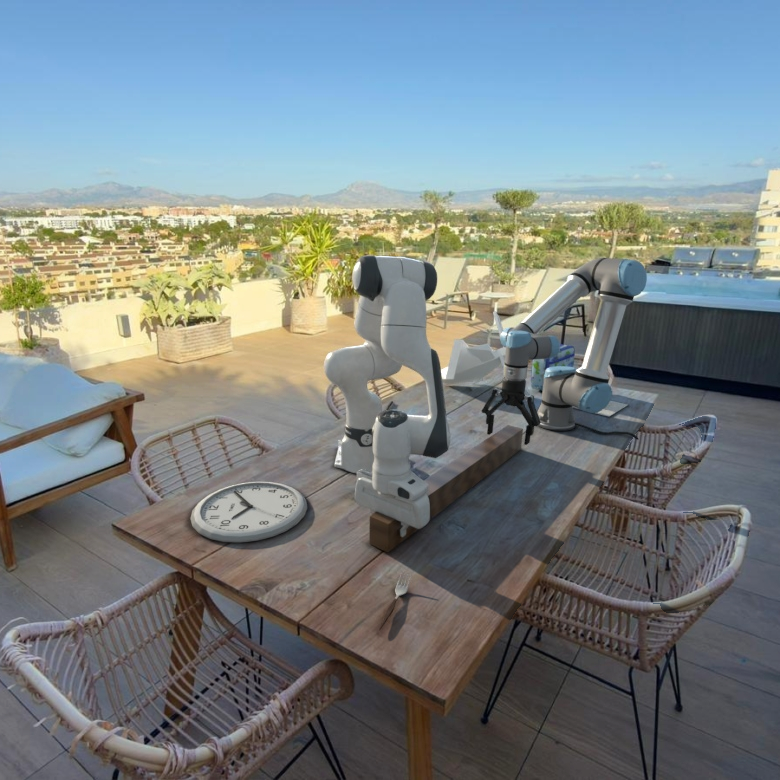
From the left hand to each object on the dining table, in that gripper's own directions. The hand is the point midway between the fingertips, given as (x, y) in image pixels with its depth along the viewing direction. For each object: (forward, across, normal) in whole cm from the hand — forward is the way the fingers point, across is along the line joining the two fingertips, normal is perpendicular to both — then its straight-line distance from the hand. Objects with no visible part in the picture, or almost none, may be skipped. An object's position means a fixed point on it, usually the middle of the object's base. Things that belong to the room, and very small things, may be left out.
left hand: (390, 530), depth 127 cm
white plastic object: (+3, -39, +122) cm, 128 cm away
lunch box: (+3, -16, +150) cm, 151 cm away
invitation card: (+3, +12, +137) cm, 138 cm away
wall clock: (+3, -37, -12) cm, 39 cm away
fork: (+3, +14, -18) cm, 23 cm away
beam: (+3, 0, +34) cm, 34 cm away
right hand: (-2, 0, +67) cm, 67 cm away
